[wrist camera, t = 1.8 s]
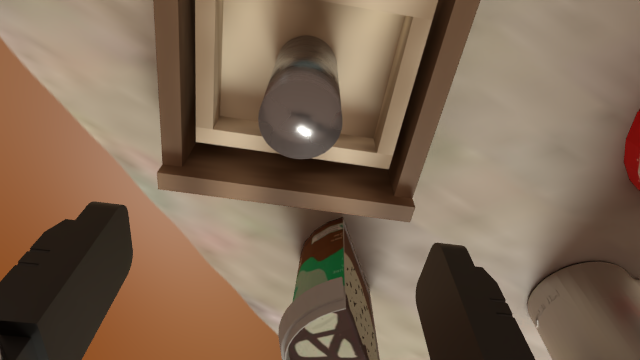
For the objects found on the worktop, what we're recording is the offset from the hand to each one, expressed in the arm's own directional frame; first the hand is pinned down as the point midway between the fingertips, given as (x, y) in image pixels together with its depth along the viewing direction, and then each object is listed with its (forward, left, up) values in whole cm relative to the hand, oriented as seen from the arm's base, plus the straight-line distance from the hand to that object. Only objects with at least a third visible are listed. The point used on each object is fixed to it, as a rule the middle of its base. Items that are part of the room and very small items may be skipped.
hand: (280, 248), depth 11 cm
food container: (-4, +18, -18) cm, 26 cm away
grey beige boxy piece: (0, 0, -17) cm, 17 cm away
